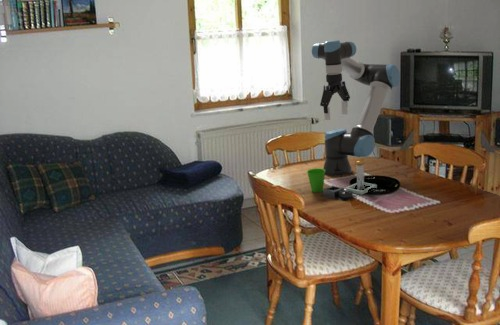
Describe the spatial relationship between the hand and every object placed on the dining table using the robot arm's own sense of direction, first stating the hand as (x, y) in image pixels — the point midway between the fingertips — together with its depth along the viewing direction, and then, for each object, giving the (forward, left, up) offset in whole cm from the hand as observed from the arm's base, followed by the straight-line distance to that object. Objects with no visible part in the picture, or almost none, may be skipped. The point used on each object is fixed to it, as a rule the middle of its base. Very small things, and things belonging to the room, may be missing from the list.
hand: (336, 117), depth 290 cm
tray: (+3, +16, -35) cm, 38 cm away
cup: (+16, -1, -35) cm, 38 cm away
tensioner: (+16, +13, -34) cm, 40 cm away
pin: (+3, +16, -34) cm, 37 cm away
